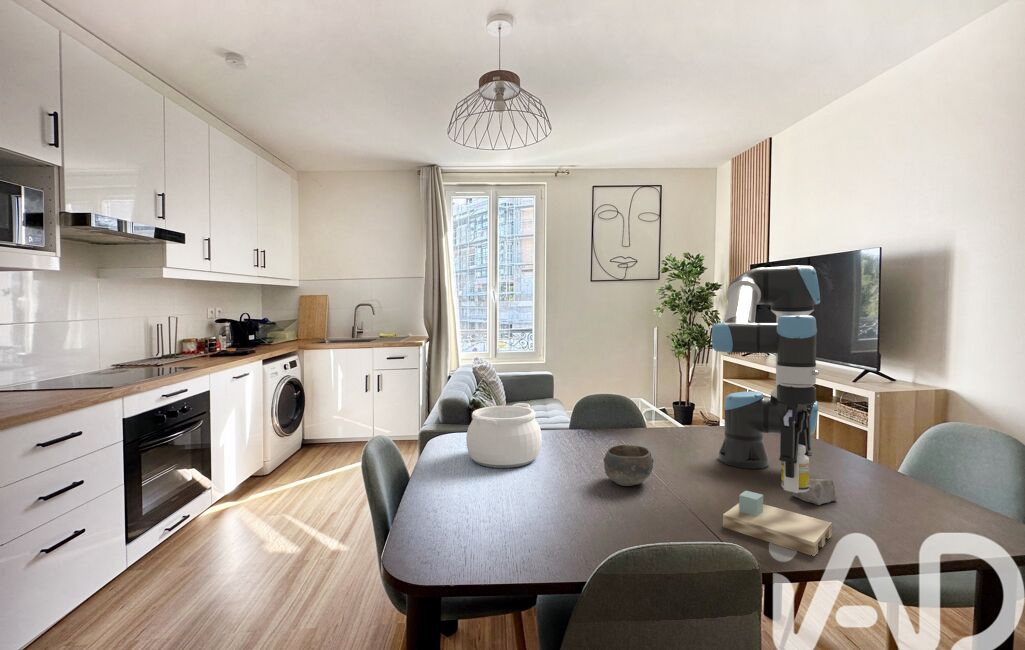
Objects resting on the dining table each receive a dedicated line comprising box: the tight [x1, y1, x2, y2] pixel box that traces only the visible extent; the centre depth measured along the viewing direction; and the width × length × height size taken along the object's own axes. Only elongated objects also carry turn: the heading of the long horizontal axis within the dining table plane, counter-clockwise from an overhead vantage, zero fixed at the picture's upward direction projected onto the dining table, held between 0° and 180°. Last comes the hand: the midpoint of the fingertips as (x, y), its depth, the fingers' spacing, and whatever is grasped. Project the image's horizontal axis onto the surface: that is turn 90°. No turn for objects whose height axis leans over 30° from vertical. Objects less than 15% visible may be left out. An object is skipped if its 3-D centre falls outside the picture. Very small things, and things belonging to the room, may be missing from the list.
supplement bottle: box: [780, 444, 810, 492], centre depth 107 cm, size 5×5×10 cm
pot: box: [466, 402, 543, 469], centre depth 166 cm, size 29×26×17 cm
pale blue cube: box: [738, 490, 764, 516], centre depth 114 cm, size 4×4×4 cm
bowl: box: [603, 444, 655, 487], centre depth 141 cm, size 14×15×10 cm
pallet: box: [722, 502, 833, 557], centre depth 110 cm, size 19×13×3 cm
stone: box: [792, 478, 838, 506], centre depth 128 cm, size 10×8×6 cm
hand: (795, 487), depth 107 cm, fingers closed on supplement bottle, 5 cm apart
